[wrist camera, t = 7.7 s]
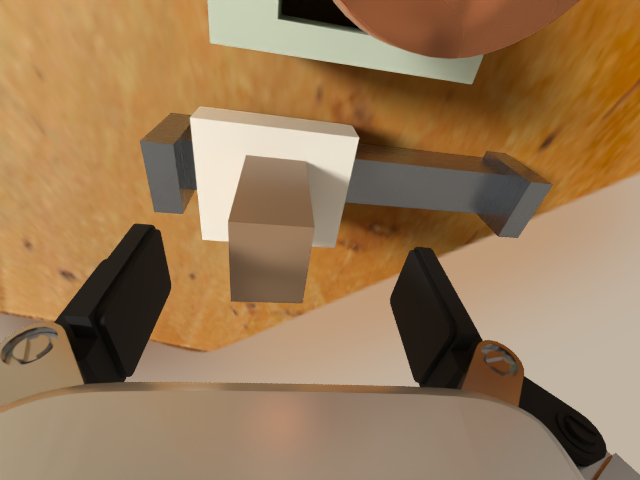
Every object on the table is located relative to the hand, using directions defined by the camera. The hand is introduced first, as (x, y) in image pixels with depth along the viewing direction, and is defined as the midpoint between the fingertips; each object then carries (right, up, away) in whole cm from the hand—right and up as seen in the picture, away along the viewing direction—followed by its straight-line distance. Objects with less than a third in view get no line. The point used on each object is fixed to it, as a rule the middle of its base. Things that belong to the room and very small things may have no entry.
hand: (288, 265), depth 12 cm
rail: (+3, +6, +10) cm, 12 cm away
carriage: (-2, +6, +8) cm, 10 cm away
